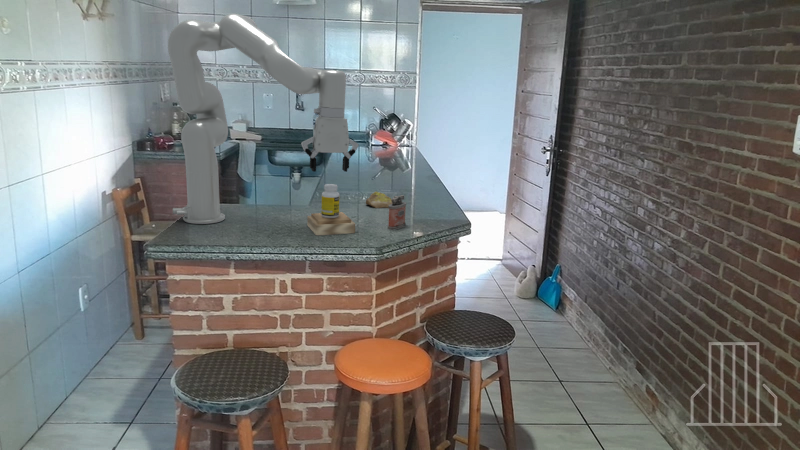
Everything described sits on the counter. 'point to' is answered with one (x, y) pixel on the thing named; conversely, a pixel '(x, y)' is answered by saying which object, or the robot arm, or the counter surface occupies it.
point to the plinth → (330, 224)
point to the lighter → (397, 213)
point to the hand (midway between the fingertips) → (329, 170)
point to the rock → (378, 200)
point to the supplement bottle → (330, 201)
